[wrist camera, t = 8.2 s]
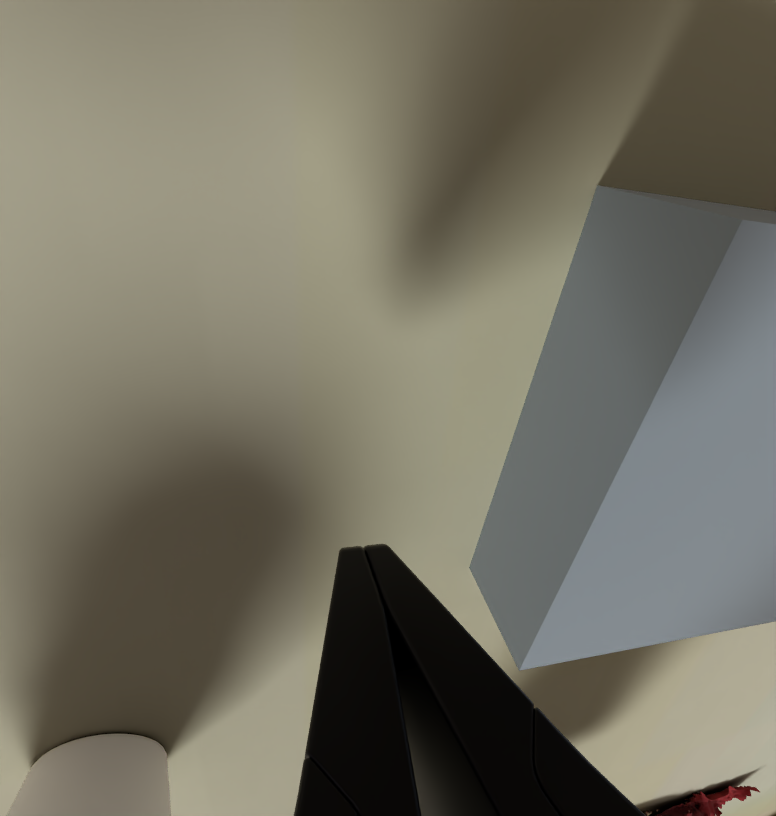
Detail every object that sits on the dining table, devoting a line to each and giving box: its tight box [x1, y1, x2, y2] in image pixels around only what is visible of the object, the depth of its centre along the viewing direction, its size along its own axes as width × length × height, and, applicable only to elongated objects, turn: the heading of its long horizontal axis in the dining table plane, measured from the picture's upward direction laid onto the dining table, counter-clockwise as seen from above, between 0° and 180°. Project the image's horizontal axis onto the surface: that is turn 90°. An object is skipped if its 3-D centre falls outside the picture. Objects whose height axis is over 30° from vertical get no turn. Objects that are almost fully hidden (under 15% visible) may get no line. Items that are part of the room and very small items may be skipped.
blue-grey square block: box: [469, 185, 776, 671], centre depth 14 cm, size 12×12×4 cm
